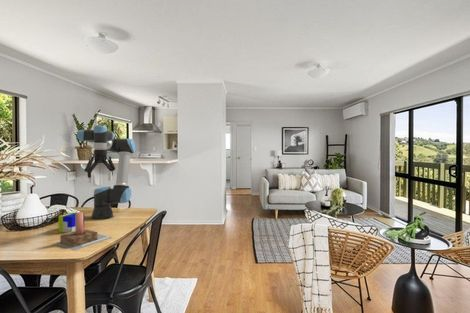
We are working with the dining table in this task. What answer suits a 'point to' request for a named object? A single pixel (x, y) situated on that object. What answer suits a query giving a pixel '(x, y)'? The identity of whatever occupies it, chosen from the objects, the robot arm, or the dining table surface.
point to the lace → (94, 241)
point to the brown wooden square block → (78, 238)
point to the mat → (83, 244)
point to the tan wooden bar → (79, 223)
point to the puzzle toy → (68, 222)
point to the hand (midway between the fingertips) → (100, 181)
